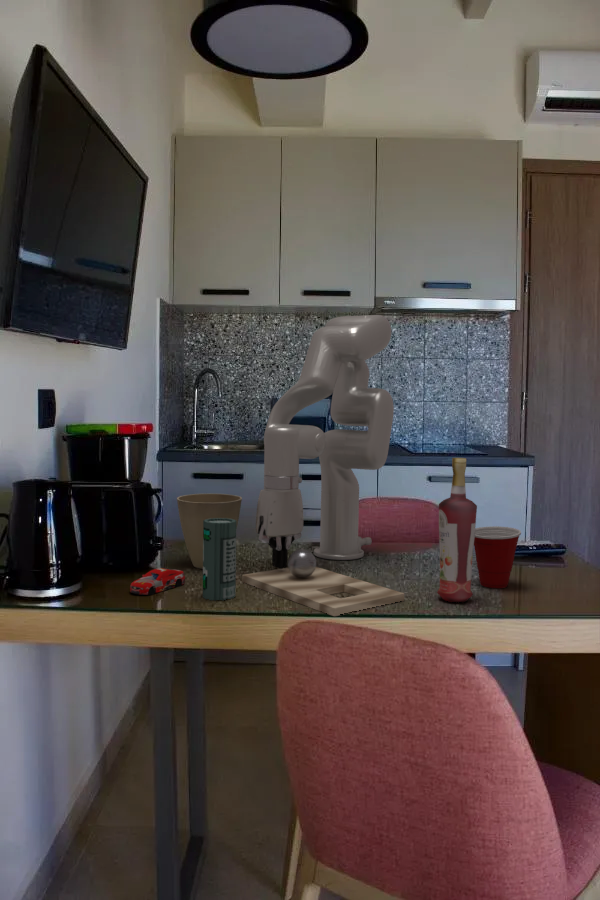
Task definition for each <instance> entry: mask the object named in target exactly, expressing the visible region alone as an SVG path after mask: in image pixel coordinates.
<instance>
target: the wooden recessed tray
mask: <svg viewBox="0 0 600 900" xmlns="http://www.w3.org/2000/svg"><path fill="white" fill-rule="evenodd" d="M241 583H244V584H246V583H247V584H246V585H248V586H249V585H250V586H252V587H254V586H255V588H257V589H260V590H262V591H265V592H268V593H271V594H273V595H276V596H279V597H281V598H283V599H287V600H290V601H292V602H294V603H298V604H300V605H303V606H305V607H308V608H311V609H312V610H313V609H314V610H316V611H319V612H321V611H322V612H321V613H325V614H326V613H327V615H329V616H332V617H338V616H341V615H340V614H343V615H345V614H344V613H348V612H352V611H357V612H360V611H359V610H361V611H364V610H363V609H366V610H368V609H367V608H370V609H373V608H372V607H375V608H377V607H376V606H379V607H382V606H381V605H384V606H386V605H385V604H389V605H392V604H391V603H393V604H396V603H395V602H398V603H401V602H400V601H402V602H404V601H405V592H402V591H397V590H395V589H392V588H388V587H385V586H381V585H378V584H375V583H373V582H367V581H365V580H361V579H358V578H355V577H352V576H348V575H346V574H341V573H339V572H334V571H331V570H328V569H325V568H322V567H318V566H316V568H315V571H314V572H313V574H312V575H310V576H309V577H306V578H297V577H295V576H294V575H292V574H291V572H290V571H289V568H288V567H287V568H281V569H280V568H277V569H271V570H265V571H258V572H253V573H245V574H242V575H241ZM340 593H347V594H350V595H351V596H348V597H346V596H345V597H342V598H340V597H337V596H334V595H335V594H340ZM333 594H334V595H333ZM352 613H353V612H352ZM348 614H349V613H348Z"/></svg>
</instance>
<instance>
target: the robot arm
mask: <svg viewBox="0 0 600 900" xmlns="http://www.w3.org/2000/svg"><path fill="white" fill-rule="evenodd" d="M391 338H392V326H391V323H390V321H389V319H388V318H387V317H385V316H384V315H381V314H369V315H368V314H367V315H366V314H365V315H363V314H362V315H344V316H343V315H341V316H338V317H336V316H335V317H333V318H331V319H329V320H328V321H327V322H326V323H325V325H324V326H322V327H319V328H317V329H316V330H315V331H314V332H313V334H312V336H311V338H310V339H311V340H310V342H309V345H308V346H309V347H308V348H307V352H306V356H305V359H304V362H303V366H302V369H301V371H300V376H299V379H298V381H297V382H296V383H294V385H292V386H291V387H290V388H289V389H288V390H286V391H285V393H283V395H281V397H279V399H278V400H277V401H276V402H275V404H274V405H273V407H272V409H271V410H270V413H269V416H268V420H267V424H266V427H265V429H264V430H265V431H264V435H263V444H264V456H263V459H264V460H263V461H264V462H263V489H260V491H259V495H258V499H257V505H256V514H255V533H256V534H258V535H259V536H258V541H259V542H260V543H265V544H267V545H268V546H269V548H270V549H272V552H271V553H272V554H271V556H272V558H271V560H272V561H271V562H272V566H273V567H274V568H277V569H283V568H288V559H289V557H288V554H289V553H288V552H289V550H290V549H291V545H292V544H293V542H294V541H296V540H299V539H301V537H302V532H303V530H304V506H303V497H302V492H301V489H300V488H299V484H301V483H302V482H303V478H302V477H301V476H300V473H299V472H300V459H305V460H313V459H317V458H318V459H319V465H320V475H321V477H320V478H321V481H320V482H321V489H320V528H319V531H320V533H319V536H320V537H319V547H318V546H317V547H316V548H314V550H313V555H314V557H315V556H316V557H318V558H320V559H326V560H332V561H333V560H337V561H347V560H348V561H349V560H351V561H352V560H357V559H361V558H363V557H364V555H365V551H364V550H363V549H362V547H363V546H368V545H369V546H371V545H372V542H373V541H372V538H371V537H369V536H368V537H367V536H366V537H362V536H359V515H360V514H359V512H360V511H359V510H360V508H359V507H360V484H359V482H358V481H359V480H358V478H357V477H356V475H355V473H354V472H353V470H370V471H371V470H372V471H375V470H380V469H381V468H383V467H384V466H385V464H386V462H387V458H388V454H389V449H390V441H391V434H392V427H393V422H394V413H395V412H394V410H395V408H394V401H393V397H392V395H391V394H390V392H389V391H388V390H386V389H385V388H384V389H383V388H377V387H369V380H370V369H369V365H368V364H367V362H366V360H369V359H371V358H372V357H374V356H375V355H377V354H379V353H380V352H382V351H383V350H384V349H385V348H386V347H387V346H388V345H389V343H390V341H391ZM331 395H332V397H331V404H330V418H331V419H332V421H333V422H334V423H336V424H338V425H341V426H350V427H351V426H352V427H353V426H354V427H367V430H362V429H361V430H356V429H340V428H339V429H331V430H327V431H326V432H324V431H323V430H322V429H321V428H320V427H318V426H315V425H308V424H290V423H291V421H292V419H293V418H294V417H295V416H296V415H297V414H298V413H299V412H300V411H302V410H304V409H305V408H307V407H309V406H311V405H313V404H316V403H318V402H320V401H322V400H324V399H327V398H329V397H330V396H331Z"/></svg>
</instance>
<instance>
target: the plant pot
mask: <svg viewBox="0 0 600 900" xmlns="http://www.w3.org/2000/svg"><path fill="white" fill-rule="evenodd" d="M176 501H177V509H178V515H179V516H178V517H179V522H180V526H181V532H182V536H183V538H184V542H185V546H186V549H187V552H188V555H189V558H190V561H191V562H192V565H193V567H195V568H197V569H202V570H203V521H204V520H206V519H210V518H211V519H213V518H228V519H233V520H236V530H237V529H238V526H239V525H238V524H239V519H240V514H241V508H242V501H243V497H242V496H239V495H235V494H229V493H228V494H227V493H194V494H193V493H192V494H184V495H179V496H178V497H176Z"/></svg>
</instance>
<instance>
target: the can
mask: <svg viewBox="0 0 600 900" xmlns="http://www.w3.org/2000/svg"><path fill="white" fill-rule="evenodd" d="M236 571H237V529H236V520H233V519H228V518H213V519H211V518H210V519H206V520H204V521H203V569H202V598H203V599H205V600H207V599H209V600H208V601H213V600H214V601H216V600H222V601H224V600H225V601H227V600H226V599H230V600H232V599H235V598H236V587H237V586H236V585H237V584H236V583H237V581H236V580H237V579H236V578H237V577H236V575H237V572H236ZM234 597H235V598H234ZM231 598H232V599H231Z"/></svg>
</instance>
